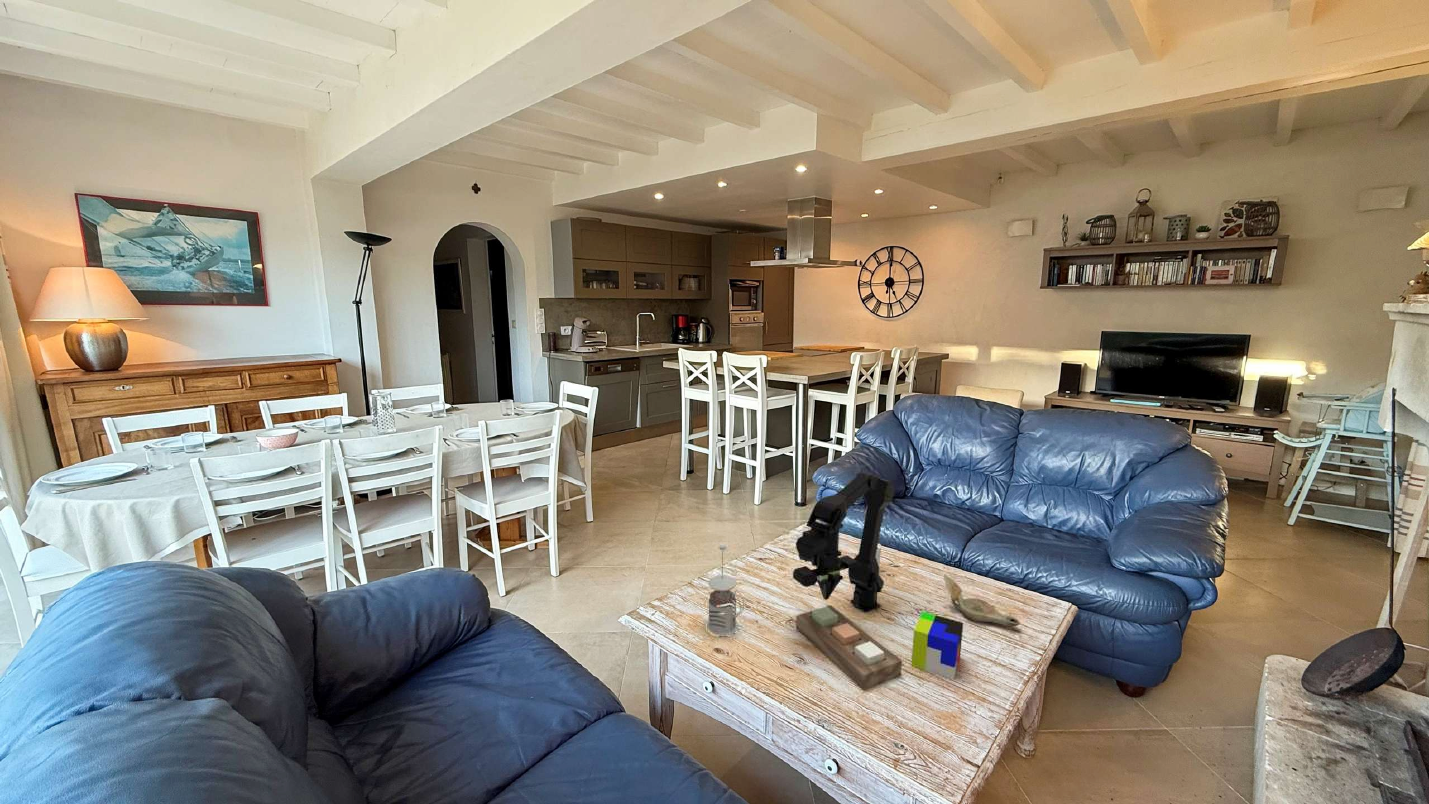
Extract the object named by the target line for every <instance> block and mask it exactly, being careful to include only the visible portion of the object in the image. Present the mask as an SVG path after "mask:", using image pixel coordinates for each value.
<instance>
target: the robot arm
mask: <svg viewBox="0 0 1429 804" xmlns="http://www.w3.org/2000/svg"><path fill="white" fill-rule="evenodd" d="M855 476H856V477H855V478H853V479H852V480H851V481H850V482H849V483H847V484H846V485H845V486H844V487H842V488H841V489H840V490H839V491H838V492H837V493H835V494H832V495H827V496H825V497H823V498H821V499H819V500H818V501H816V503H815V504H814V506H813V509H812V512H810V516H809V518H808V519H807V520H808V521H807V522H806V527H807V528H810V529H808V530H805V531H803V532H802V535H801V536H799V538H797V540H796V542H795V547H796V551H797V553H798V558H799V560H800V561H804V562H805V563H808V562H810V564H811V566H813V567H816V568H812V569H811V568H809V566H806V565H804V566H801V567H797V568H795V569H793V572H792V578H793V580H795V581H796V582H797V583H799V584H800V585H802V586H803V587H804V588H805V587H806V588H807V587H811V586H815V585H816V584H818V587H819V589H820V593H821V595H822V598H823V599H824V600H825V601H827V600H829V599H830V597H831V595H832V594H833V593H834V590H835V589H836V587H837V586H838V584H839V583H840V582H841V581H843V580H844V576H843V575H841V571H843V570H847V569H848V570H847V572H848V573H847V574H848V577H849V583H850V584H851V585H854V590H853V599H851V600H850V603H851V604H853V605H854V606H855V607H856V608H858V609H859V610H860V611H862V612H864V613H865V612H866V613H867V612H869V611H872V610H875V609H878V608H881V604H879V603H878V593H881V592H882V590H883V588H884V584H885V583H884V582H885V581H884V579H882V577H881V576H880V575H879V572H880V564H879V565H878V563H877V560H876V551H877V546H878V543H879V538H880V533H881V528H882V523H883V518H884V513H885V510H886V508H887V507H888V506H889V505H890V504H891V503H892V501H893V498H894V497H893V496H895V492H896V488H895V485H894V483H893V482H892V481H891V480H887V479H882V478H880V477H878V476H875V474H873V473H867V472H863V471H862V472H858V473H857V474H856V475H855ZM862 497H863V498H864V501H865V505H866V511H865V516H864V523H863V528H862V532H861V539H860V543H859V550H858V553H857V554H856V556H855V557H854V558H853V557H851V556H849V555H847V554H846V555H843V556H842V551H841V550H839V542H840V529H843V528H844V524H843V523H842V522H843V521H844V520H845V519H846V518H847V515H848V514H847V513H848V509H850V507H851V506H852V505H854V504H855V503H856V502H857V501H858V500H860V499H861V498H862Z"/></svg>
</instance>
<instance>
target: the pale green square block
mask: <svg viewBox="0 0 1429 804" xmlns="http://www.w3.org/2000/svg"><path fill="white" fill-rule="evenodd" d="M811 611H812V619H813V620H814V621H815V622H817V623H818V624H819V625H820V626H821V627H822V628H823V627H826V626H829V625H832V624H836V623H838V615H836V614H835V613H834V612H833V611H831V610H830V609H829V608H828V607H827V606H824V608H823V607H821V609H820V608H817V609H814V611H813V610H811Z"/></svg>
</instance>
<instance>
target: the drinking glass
mask: <svg viewBox="0 0 1429 804" xmlns="http://www.w3.org/2000/svg"><path fill="white" fill-rule="evenodd" d="M881 554H882V545H881V543H879V542H878V546H877V551H876V560H877V563H878V565H879V566H880V564H881Z"/></svg>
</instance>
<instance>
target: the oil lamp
mask: <svg viewBox="0 0 1429 804" xmlns="http://www.w3.org/2000/svg"><path fill="white" fill-rule="evenodd" d="M943 579H944V583H945V587H946V589H947V590H948V592H949V595H950V600H951V604H952V605H953V606H954V607H955V608H956V609H958V610H960V611H961V612H962V613H963V615H964V616H966V617H967V618H968V619H969V620H972V621H974V622H978V623H979V622H983V623H986V622H987V623H994V624H999V625H1003V626H1006V627H1013V628H1014V627H1017V626H1019V625H1020V623H1021V622H1020V621H1019V619H1018V618H1016V617H1013V616H1011V615H1007V614H1002V613H1001V612H1000V611H998V610H997V609H996V607H995V605H992V604H991V603H989V602H987V601H985V600H983V599H979V598H975V597H973V598H972V597H970V598H969V597H968V598H964V597H963V595H962V592H963V589H962V588H961V587H960V585H958V583H956V581H954V580H953V579H951V578H950V577H948V575H946V574H945V573H944V574H943ZM956 602H957V603H956Z"/></svg>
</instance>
